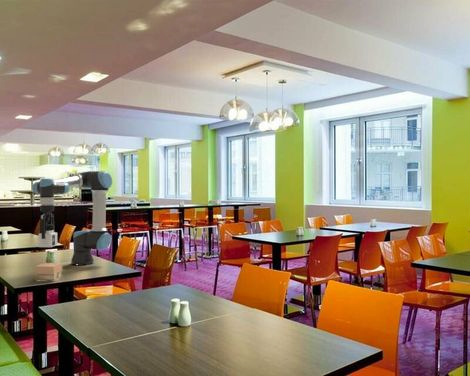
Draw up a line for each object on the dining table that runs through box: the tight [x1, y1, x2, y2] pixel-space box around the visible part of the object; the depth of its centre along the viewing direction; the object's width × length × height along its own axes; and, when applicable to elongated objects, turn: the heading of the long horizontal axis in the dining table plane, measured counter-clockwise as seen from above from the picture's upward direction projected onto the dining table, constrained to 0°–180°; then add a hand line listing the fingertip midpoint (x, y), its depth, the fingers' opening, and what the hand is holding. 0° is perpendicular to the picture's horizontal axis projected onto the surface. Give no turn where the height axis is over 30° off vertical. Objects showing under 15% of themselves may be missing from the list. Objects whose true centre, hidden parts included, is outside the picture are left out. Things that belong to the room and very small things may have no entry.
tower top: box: [34, 262, 63, 274], centre depth 260 cm, size 11×11×4 cm
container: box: [38, 224, 58, 248], centre depth 260 cm, size 8×8×13 cm
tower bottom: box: [34, 270, 63, 281], centre depth 260 cm, size 11×11×4 cm
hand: (47, 243), depth 260 cm, fingers closed on container, 8 cm apart
